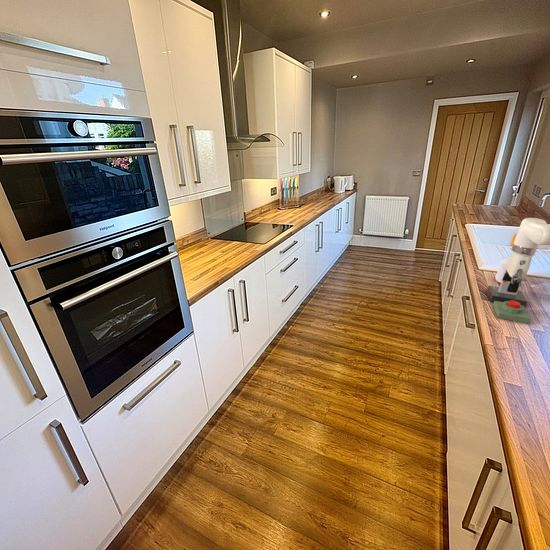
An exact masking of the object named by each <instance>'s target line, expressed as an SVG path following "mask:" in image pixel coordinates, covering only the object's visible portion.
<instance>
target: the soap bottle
mask: <svg viewBox="0 0 550 550" xmlns="http://www.w3.org/2000/svg"><path fill="white" fill-rule="evenodd" d="M516 235H517V233H514V234H513V236H512V238H511V241H510V245H511V247H512V246H513V243H514V241H515V238H516ZM509 259H510V256H507V257H504V258H502V259H501V261H500V263H499V265H498V269H497V271H496V275H495V278H494V279H495V281H496V282H498V283H500V284H501V282H502V279H503V277H504V274H505V271H506V267H507V264H508V261H509ZM514 276H515V275H514ZM517 277H518V276H517ZM514 280H516V279H515V278H514Z"/></svg>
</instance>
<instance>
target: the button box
mask: <svg viewBox="0 0 550 550" xmlns="http://www.w3.org/2000/svg"><path fill="white" fill-rule="evenodd" d="M508 302H509V301H505V302H498V301H494V302H493V304H492V307H493V310H494V312H495V315H496V318H498V319H503V320H507V321H508V320H509V321H514V322H519V323H525V324H530V322H531V320H532V317H531V316H530V314H529V312H528V310H527V309H526V306H525V307H524V306H522V305H520V306H519V308H512V307H510V306H508Z"/></svg>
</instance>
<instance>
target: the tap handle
mask: <svg viewBox="0 0 550 550" xmlns="http://www.w3.org/2000/svg"><path fill="white" fill-rule="evenodd" d="M509 283H511V282H509V281H505V280H503V281H502V282H501V283H500V285H499V286H498V287H499V290H498V291H499V293H505V294H511V295H517V292H518V290H519V289H520V287H521V284H520V285H519V288H518V290H517V292H516V293H513V292H507V288H508V286H509Z"/></svg>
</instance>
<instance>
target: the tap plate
mask: <svg viewBox="0 0 550 550" xmlns="http://www.w3.org/2000/svg"><path fill="white" fill-rule="evenodd" d="M499 287H500V286H494V285H488V286H487V289H486V294H487V296H488V299H489V302H491V303H494V301H498V302H505V301H510V300H514V301H517V302H519V303H520V305H522V306H524V307H525V308H526V306H527V305H528V299H527V298H526V296H525V295H524V293H523V291H522V290H521V289H520V290H518V292H517V295H511V294H505V293H499V291H498V290H499Z"/></svg>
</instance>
